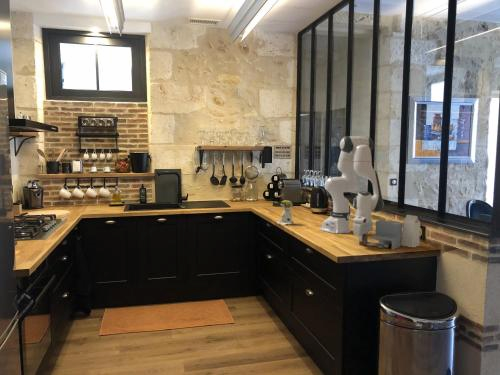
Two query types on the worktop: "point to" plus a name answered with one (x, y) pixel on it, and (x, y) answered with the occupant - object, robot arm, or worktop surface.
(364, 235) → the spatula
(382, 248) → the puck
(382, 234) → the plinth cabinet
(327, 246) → the worktop surface
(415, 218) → the milk carton
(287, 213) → the potted plant
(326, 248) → the worktop surface
